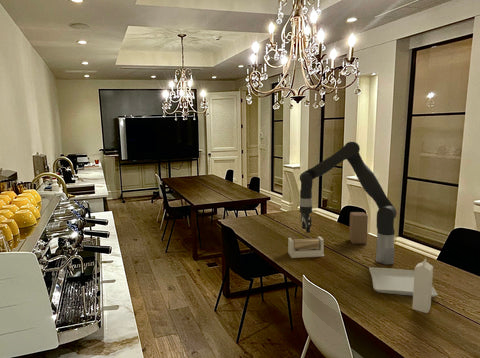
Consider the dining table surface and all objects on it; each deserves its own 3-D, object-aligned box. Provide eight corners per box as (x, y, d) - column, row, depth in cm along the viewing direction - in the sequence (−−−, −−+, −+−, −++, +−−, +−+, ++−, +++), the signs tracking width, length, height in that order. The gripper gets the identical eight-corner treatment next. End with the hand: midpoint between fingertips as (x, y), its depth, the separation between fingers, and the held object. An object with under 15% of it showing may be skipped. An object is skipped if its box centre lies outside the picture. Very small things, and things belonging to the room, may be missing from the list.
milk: (430, 308, 149) (434, 259, 146) (427, 313, 144) (431, 263, 141) (415, 303, 153) (418, 256, 150) (411, 309, 148) (415, 260, 145)
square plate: (423, 277, 180) (423, 270, 179) (438, 302, 154) (438, 294, 153) (368, 272, 187) (368, 265, 187) (373, 295, 161) (373, 288, 161)
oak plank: (318, 248, 212) (319, 240, 212) (295, 249, 211) (295, 241, 210) (316, 246, 217) (316, 238, 216) (293, 247, 216) (293, 239, 215)
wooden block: (363, 239, 241) (364, 211, 238) (367, 244, 231) (368, 215, 228) (348, 239, 242) (349, 211, 239) (352, 244, 232) (352, 215, 229)
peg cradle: (324, 256, 211) (324, 240, 209) (291, 257, 209) (291, 242, 207) (319, 250, 221) (319, 235, 219) (287, 252, 219) (287, 237, 217)
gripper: (315, 207, 203) (315, 233, 206) (308, 202, 217) (308, 227, 220) (303, 207, 203) (303, 234, 205) (296, 203, 217) (296, 228, 219)
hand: (305, 230), depth 212 cm, fingers open, 8 cm apart
